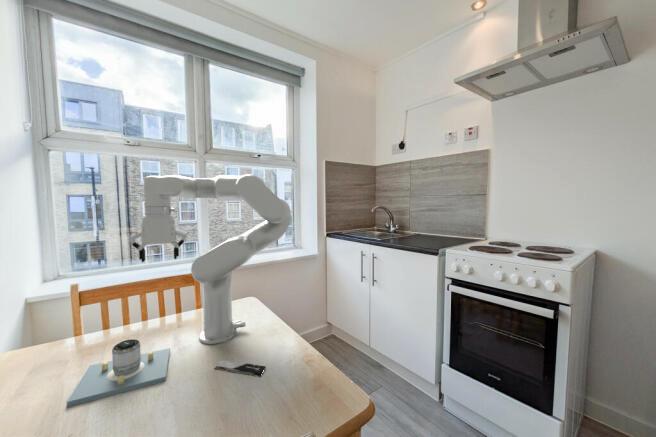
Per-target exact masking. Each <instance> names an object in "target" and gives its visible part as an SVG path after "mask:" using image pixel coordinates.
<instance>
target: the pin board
mask: <svg viewBox="0 0 656 437" xmlns="http://www.w3.org/2000/svg"><path fill="white" fill-rule="evenodd" d="M170 353H171V348H168V347H167V348H164V349H160V350H154V351H150V352H145V353H141V362H140V367H139V369H138V370H137V371H135V372H134V373H132V374H129V375H126V376H124V375H121V376H118V377H117V376H115V374H114V371H113V360H109V361H104V362H99V363H93V364H91V365H89V366H88V368H87V369H86V371H85V373H84V374H83V375H82V376H81V379H80V380H79V381H78V383H77V385H76V387H75V388H74V390H73V392H72V393H71V395H70V396H69V398H68V399H67V400H66V407H68V408H69V407H72V406H73V407H74V406H76V405H78V404H79V405H80V404H84V403H86V402H90V401H95V400H98V399H103V398H106V397H110V396H113V395H117V394H118V395H119V394H122V393H125V392H129V391H132V390H136V389H139V388H145V387H148V386H152V385H155V384H159V383H162V382H166V381H167V374H168V368H169V362H170V355H171V354H170Z"/></svg>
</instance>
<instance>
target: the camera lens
mask: <svg viewBox="0 0 656 437" xmlns="http://www.w3.org/2000/svg"><path fill="white" fill-rule="evenodd" d="M111 352H112V353H111V355H112V356H111V357H112V361H113V371H114V374H115V376H117V377H118V376H121V375H124V376H126V375H129V374H132V373H134V372H135V371H137V370H138V369H139V367H140V362H141V354H142V353H141V342H140V340H138V339H126V340H122V341H120V342H119V343H116V345H114V346H113V348H112V349H111Z"/></svg>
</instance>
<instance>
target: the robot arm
mask: <svg viewBox="0 0 656 437" xmlns="http://www.w3.org/2000/svg"><path fill="white" fill-rule="evenodd" d="M143 187H144V190H143V191H144V210H145V211H144V213H145V215H142V216H143V217H142V220H141V221H142V222H141V228H140V229H141V232H139V233H136V234H134V235H133V236H132V235H131V236H130V237H128V241H129V242H130V244H131V246H133V247H134V248H135V249H137V251H138V258H139V260H141V263H144V262H145V261H146V249H145V247H146V246H147V245H163V244H164V245H165V244H171V245H173V246H174V247H173V259H174V260H177V258H178V257H179V256H180V250H179V248H180V247H181V246H182V245H183V244H184V243H185V240H186V238H187V237H188V235H187V234H185V233H182V232H180V231H177V230H176V222H175V217H174V215H173V214H172V213H175V212H176V208H173V207H171V197H172V198H183V199H184V198H185V199H216V200H222V201H224V200H232V201H236V200H238V201H244V202H245V203H246V204H247V205H248V206H250V208H252V209H253V211H255V212H256V213H257V214H258V215H259V216H260V217H261V218H262V219H264V221H262V222H261V223H259V224H257V225H256V226H254V227H252V228H251V229H250V230H247V231H246V232H244V233H241V234H239V235H236V236H234V237H231V238H229V239H227V240H226V241H224V242H221V243H220V244H219V245H217V246H215V247H213V248H212V249H210V250H208V251H206V252H205V253H203V254H201V255H199V256H198V257H197V258H196V259H194V261H193V263H192V265H191V268H190V269H191V270H190V273H191V276H192V278H193V279H194V280H195V281H197V282H198V283H200V284H202V303H203V304H202V307H203V308H202V309H203V312H202V313H203V330H202V331H201V332H200V334H199V336H198V338H199V339H198V340H199V342H201V343H203V344H206V345H216V344H221V343H224V342H227V341H230V340H231V339H233V338H234V337H235V336H236V335H237V332H238V331H237V330H238V328H245V327H246V321H244V320H243V321H241V319H239V320H233V310H232V309H233V306H232V299H233V298H232V277H233V276H232V275H233V271H235V270H237V269H238V268H240V267H242V266H243V265H245V264H246V263H247V262H249V260H251V259H252V258H253V256H255V255H257V254H258V253H260V252H261V251H263V250H265V249H266V248H267V247H269V246H271V245H272V244H274V243H276V242H277V241H278V240H280V239H281V238H282V237H283V236H284V235H285V233H286V232H287V231H288V229H289V226H290V224H291V219H292V212H291V207H290V205H289V204H288V201H286V200H284V199H281V198H279V196H278V195H277V194H275V193H274V192H273V191H272V190H271V189H270V188H268V187H267V185H266V182H265V181H264V179H262V177H261V178H260V177H259V176H257V175H255V174H249V173H248V174H243V175H217V176H215V177H211V178H197V177H195V178H193V177H187V176H182V175H179V174H178V175H177V174H174V175H173V174H172V175H163V176H161V175H149V176H146V177H144V180H143ZM171 214H172V215H171ZM177 236H178V237H181V239H180V240H179V241H178V242H177V241H176V239H177ZM138 238H141V244H140V243H138V242H137V241H136V240H137V239H138Z"/></svg>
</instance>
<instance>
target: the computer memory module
mask: <svg viewBox="0 0 656 437" xmlns="http://www.w3.org/2000/svg"><path fill="white" fill-rule="evenodd" d="M266 367H267V366H265V365H257V364H251V363H242V362H237V361H230V360H222V361H221V362H220V363H219V364H218V365H217V366H215V367H214V370H217V371H223V372H228V373H232V374H240V375H246V376H250V375H252V376H251V377H256V376H258V378H261V377H262V376H261V374H263V375H264V373H262V372H263V370H264V369H265V370H266Z"/></svg>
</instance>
